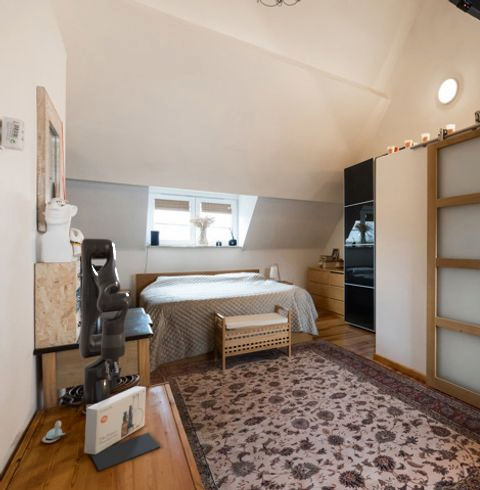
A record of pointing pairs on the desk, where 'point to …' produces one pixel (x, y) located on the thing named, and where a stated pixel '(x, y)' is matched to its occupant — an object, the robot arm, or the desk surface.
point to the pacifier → (54, 433)
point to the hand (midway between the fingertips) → (112, 388)
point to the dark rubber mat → (124, 451)
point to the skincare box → (114, 419)
